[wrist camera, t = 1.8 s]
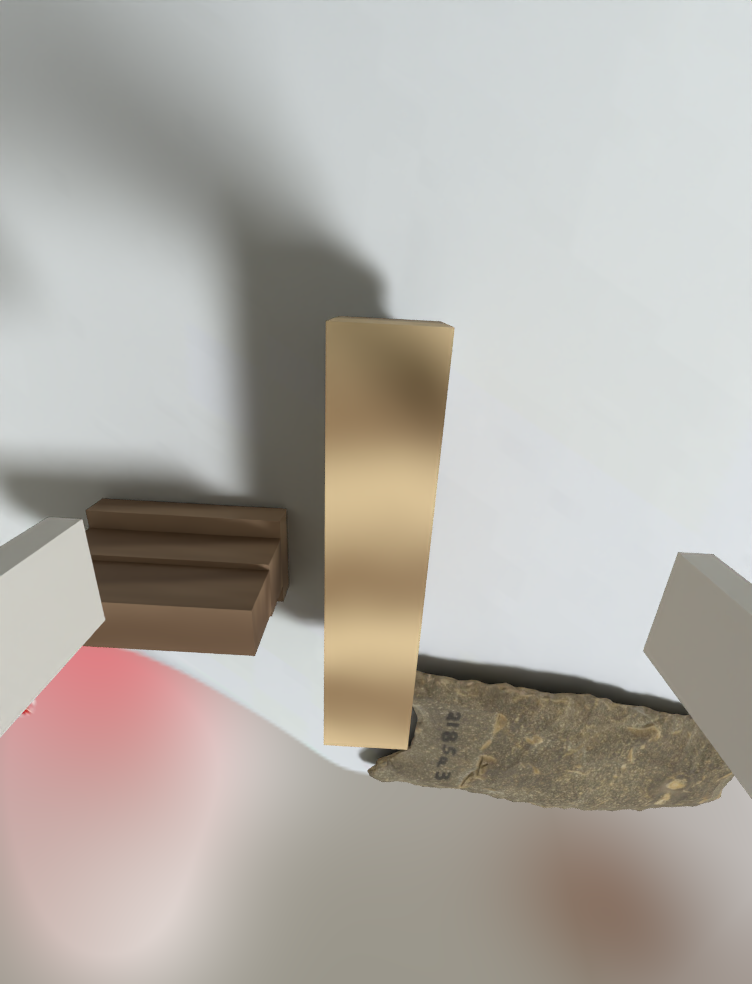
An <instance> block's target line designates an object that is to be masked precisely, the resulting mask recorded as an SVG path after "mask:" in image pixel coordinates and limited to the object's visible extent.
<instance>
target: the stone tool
mask: <svg viewBox="0 0 752 984" xmlns="http://www.w3.org/2000/svg"><path fill="white" fill-rule="evenodd" d="M412 707H413V708H414V711H415V713H416V715H417V718H418V721H417V725H416V728H415V732H414V734H415V735H414V738H413V739H412V741H411V746H410V747H408V749H407V750H403V749H402V750H400V751H398V752H395V753H393V754H391V755H388V756H385V757H381V758H379V759H378V761H376V765H374V766H372V767H371V768H370V769H369V770H368V773H369V775H370V776H371V777H373V778H375V779H377V780H379V781H381V782H393V781H401V782H408V783H411V784H414V785H420V786H422V787H435V788H454V789H462V790H467V791H469V792H472V793H481V794H487V795H490V796H492V797H495V798H505V799H507V800H510V801H512V802H528V803H531V804H534V805H538V806H541V807H543V808H551V807H559V808H563V809H567V808H577V809H581V810H608V811H615V810H622V809H632V810H637V811H642V810H645V809H648V808H659V807H680V806H692V807H693V806H697V805H700V804H703V803H706V802H711V801H714V800H716V799H718V798H720V797H721V792H722V789H723V788H724V787H725V786H726V785H727V783H728V782H729V781H730V780H731V779H732V778H733V776H735V775H734V774H733V773H732V771H731V770H730V769H729V767H728V766H727V764H726V763H725V762H724V760H723V759H722V758H721V756H720V755H719V754H718V752H717V751H716V750H715V748H714V747H713V745H712V744H711V743H710V741H709V740H708V739H707V737H706V736H705V735H704V733H703V732H702V730H701V729H700V728H699V726H698V725H697V724H696V722H695V721H694V720H693V718H692V717H691V715H680V714H668V713H666V712H659V711H655V710H653V709H651V708H649V707H645V706H634V705H623V704H618V703H614V702H612V701H611V700H610V699H608V698H597V697H595V696H593V695H591V694H589V693H587V694H574V693H557V694H552V693H547V692H540V691H537V690H535V689H529V688H524V687H513V686H512V685H510V684H508V683H497V684H486V683H483V682H480V681H478V680H456V679H454V678H451V677H446V676H437V675H433V674H427V673H422V672H420V671H416V677H415V686H414V695H413V704H412Z"/></svg>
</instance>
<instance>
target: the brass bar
mask: <svg viewBox="0 0 752 984" xmlns="http://www.w3.org/2000/svg"><path fill="white" fill-rule="evenodd" d="M453 337H454V327H452V326H450V325H447V324H445V323H443V322H441V321H422V320H404V319H385V318H367V317H348V316H338V317H335V318H332V319H329V320H327V321H326V374H325V603H324V745H334V746H351V747H368V748H386V749H403V750H407V749H408V740H409V731H410V722H411V713H412V704H413V695H414V686H415V677H416V668H417V659H418V650H419V641H420V633H421V624H422V615H423V606H424V597H425V588H426V579H427V570H428V561H429V552H430V543H431V534H432V525H433V516H434V507H435V498H436V489H437V480H438V471H439V462H440V453H441V444H442V436H443V427H444V418H445V409H446V400H447V391H448V382H449V373H450V364H451V355H452V346H453Z"/></svg>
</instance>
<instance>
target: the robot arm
mask: <svg viewBox="0 0 752 984" xmlns="http://www.w3.org/2000/svg"><path fill="white" fill-rule="evenodd" d="M104 621H105V617H104V612H103V608H102V604H101V599H100V595H99V590H98V586H97V581H96V577H95V573H94V568H93V564H92V559H91V555H90V551H89V546H88V542H87V537H86V533H85V528H84V524H83V520H82V519H75V518H57V517H47V518H45V519H44V520H42V521H41V522H39V523H37V524H36V525H34V526H33V527H31V528H29V529H28V530H26V531H25V532H23V533H21V534H20V535H18V536H17V537H15V538H13V539H12V540H10V541H9V542H7V543H5V544H4V545H2V546H1V547H0V737H1V736H2V734H4V733H5V731H6V730H7V729H8V728H9V727H10V726H11V725H12V724H13V723H14V721H15V720H16V719H17V718H18V717H19V716H20V715H21V714H22V713H23V711H24V710H25V709H26V708H27V707H28V706H29V705H30V704H31V703H32V701H33V700H34V699H35V698H36V697H37V696H38V695H39V694H40V692H41V691H42V690H43V689H44V688H45V687H46V686H47V684H49V682H50V681H51V680H52V679H53V678H54V677H55V676H56V675H57V673H58V672H59V671H60V670H61V669H62V668H63V667H64V666H65V664H66V663H67V662H68V661H69V660H70V659H71V658H72V657H73V656H74V655H75V653H76V652H77V651H78V650H79V649H80V648H81V647H82V646H83V645H84V643H85V642H86V641H87V640H88V639H89V638H90V637H91V636H92V634H93V633H94V632H95V631H96V630H97V629H98V628H99V627H100V626H101V624H102V623H103V622H104ZM643 651H644V653H645V654H646V656H647V657H648V658H649V660H650V661H651V662H652V664H653V665H654V666H655V668H656V669H657V671H658V672H659V673H660V675H661V676H662V677H663V679H664V680H665V681H666V683H667V684H668V686H669V687H670V688H671V690H672V691H673V692H674V694H675V695H676V696H677V698H678V699H679V700H680V702H681V703H682V705H683V706H684V707H685V709H686V710H687V711H688V713H689V714H690V715H691V717H692V718H693V720H694V721H695V722H696V724H697V725H698V726H699V728H700V729H701V730H702V732H703V733H704V735H705V736H706V737H707V739H708V740H709V741H710V743H711V744H712V745H713V747H714V748H715V750H716V751H717V752H718V754H719V755H720V756H721V758H722V759H723V760H724V762H725V763H726V764H727V766H728V767H729V769H730V770H731V771H732V773H733V774H734V775H735V777H736V778H737V779H738V781H739V782H740V784H741V785H742V786H743V788H744V789H745V790H746V792H747V793H748V794H749V796H750V797H751V798H752V584H751V583H750V582H749V581H747V580H746V579H745V578H743V577H742V576H741V575H739V574H738V573H737V572H736V571H734V570H733V569H732V568H730V567H729V566H728V565H726V564H725V563H724V562H723V561H721V560H720V559H719V558H717V557H716V556H715V555H714V554H700V553H683V552H678V554H677V557H676V560H675V563H674V565H673V568H672V571H671V574H670V577H669V579H668V582H667V585H666V588H665V591H664V593H663V596H662V599H661V602H660V605H659V607H658V610H657V613H656V616H655V619H654V622H653V624H652V627H651V630H650V633H649V636H648V638H647V641H646V644H645V647H644V650H643Z"/></svg>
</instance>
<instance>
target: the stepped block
mask: <svg viewBox="0 0 752 984" xmlns="http://www.w3.org/2000/svg"><path fill="white" fill-rule="evenodd" d="M86 515H87V519H88V523H89V529H87V530H86V531H85V533H86V537H87V542H88V546H89V551H90V555H91V559H92V564H93V568H94V573H95V577H96V581H97V586H98V590H99V595H100V599H101V604H102V608H103V612H104V617H105V621H104V622H103V623H102V624H101V626H100V627H99V628H98V629H97V630H96V631H95V632H94V633H93V634H92V636H91V637H90V638H89V639H88V640H87V641H86V642H85V643H84V645H83V646H92V647H109V648H127V649H144V650H162V651H179V652H197V653H214V654H231V655H249V656H255V654H256V652H257V649H258V646H259V644H260V641H261V638H262V636H263V633H264V630H265V628H266V625H267V622H268V620H269V617H270V616H272V614H273V612H274V609H275V606H276V604H277V601H284V598H285V595H286V592H287V590H288V587H289V574H288V545H287V515H286V509H282V508H264V507H246V506H228V505H210V504H192V503H174V502H156V501H138V500H120V499H101V500H100V501H98V502H97V503H95V504H94V505H93V506H91V507H90V508H88V509H87V510H86Z"/></svg>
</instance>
